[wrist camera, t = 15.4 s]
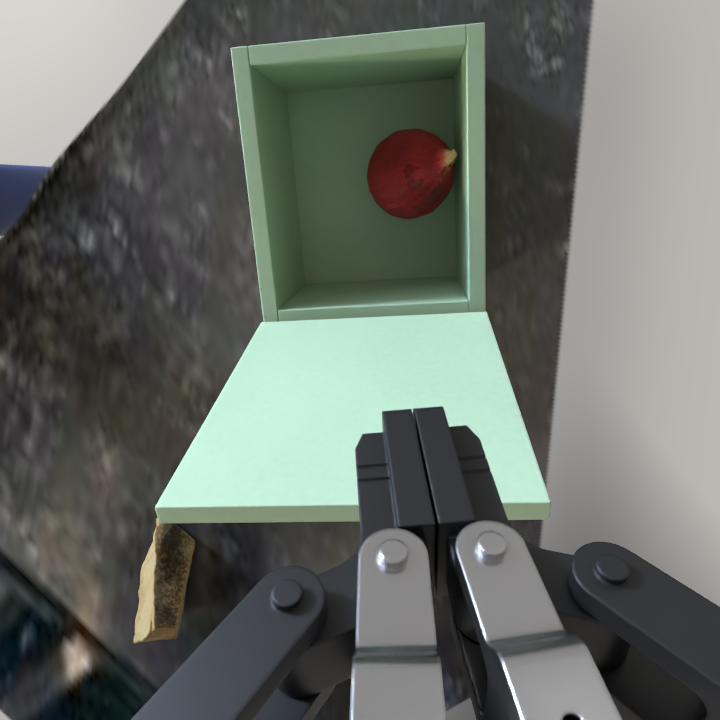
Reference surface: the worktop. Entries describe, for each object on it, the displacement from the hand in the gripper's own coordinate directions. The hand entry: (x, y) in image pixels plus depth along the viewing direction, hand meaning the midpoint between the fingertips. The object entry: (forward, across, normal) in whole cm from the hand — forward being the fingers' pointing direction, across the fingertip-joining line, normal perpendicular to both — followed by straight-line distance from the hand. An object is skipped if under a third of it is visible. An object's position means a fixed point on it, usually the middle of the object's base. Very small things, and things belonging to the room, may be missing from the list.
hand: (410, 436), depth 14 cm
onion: (+31, -2, +3) cm, 31 cm away
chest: (+33, -1, +4) cm, 33 cm away
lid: (+11, +1, +7) cm, 13 cm away
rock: (+26, +21, +38) cm, 50 cm away
